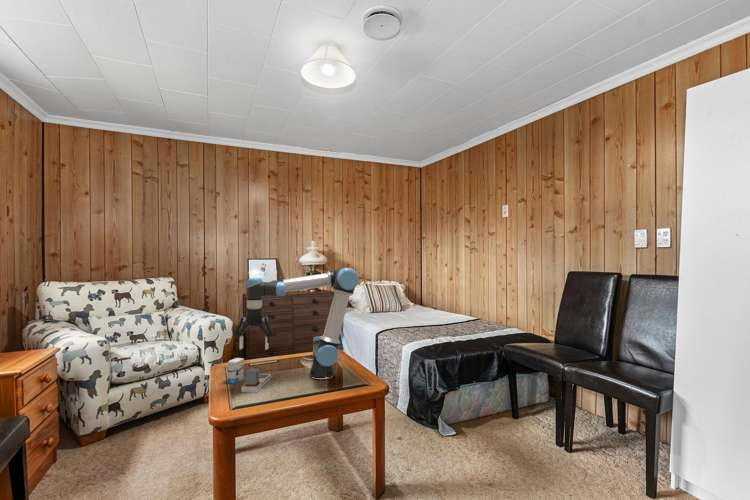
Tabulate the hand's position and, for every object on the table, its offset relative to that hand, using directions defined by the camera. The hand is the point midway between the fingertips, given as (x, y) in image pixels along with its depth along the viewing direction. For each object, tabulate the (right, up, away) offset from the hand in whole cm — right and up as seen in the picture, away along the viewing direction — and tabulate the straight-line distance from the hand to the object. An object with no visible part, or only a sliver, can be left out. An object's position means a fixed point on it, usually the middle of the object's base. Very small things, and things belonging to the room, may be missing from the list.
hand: (254, 348), depth 188 cm
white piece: (0, -21, +6) cm, 22 cm away
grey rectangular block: (-1, -21, -1) cm, 21 cm away
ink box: (-14, -21, +11) cm, 27 cm away
